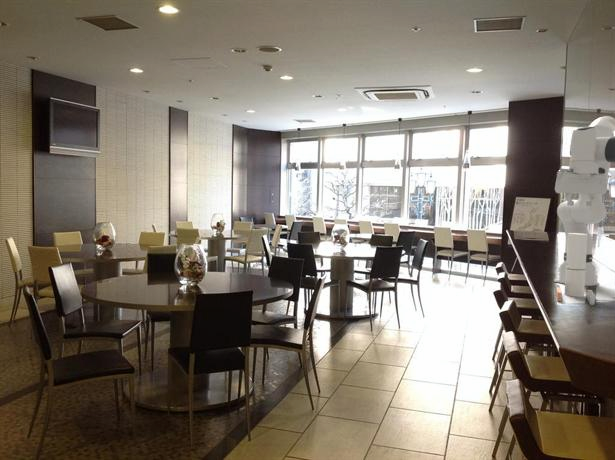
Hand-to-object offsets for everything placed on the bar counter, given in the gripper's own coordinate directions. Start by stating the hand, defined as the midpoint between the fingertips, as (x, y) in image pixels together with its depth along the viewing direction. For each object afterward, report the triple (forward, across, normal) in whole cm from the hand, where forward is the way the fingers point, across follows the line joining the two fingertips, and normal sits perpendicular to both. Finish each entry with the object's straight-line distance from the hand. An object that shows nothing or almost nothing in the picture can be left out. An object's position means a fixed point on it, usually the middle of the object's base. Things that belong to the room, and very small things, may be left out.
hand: (579, 205), depth 204 cm
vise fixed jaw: (+36, +5, -3) cm, 37 cm away
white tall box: (+36, +8, +10) cm, 38 cm away
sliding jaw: (+36, -5, +3) cm, 37 cm away
